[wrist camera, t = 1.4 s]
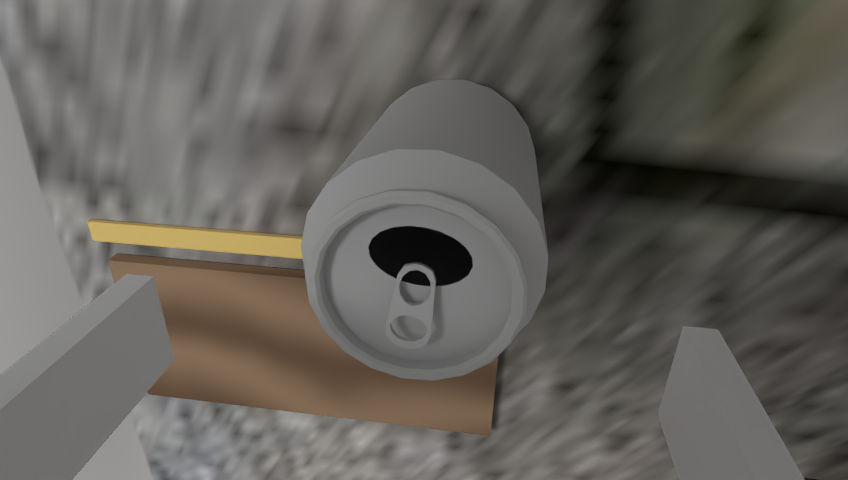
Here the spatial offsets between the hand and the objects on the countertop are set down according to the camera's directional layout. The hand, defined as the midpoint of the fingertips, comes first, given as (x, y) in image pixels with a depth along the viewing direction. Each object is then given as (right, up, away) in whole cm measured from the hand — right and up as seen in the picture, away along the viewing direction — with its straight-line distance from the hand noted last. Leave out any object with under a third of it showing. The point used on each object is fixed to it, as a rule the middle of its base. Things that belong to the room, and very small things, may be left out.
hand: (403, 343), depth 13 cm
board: (-6, -3, +18) cm, 19 cm away
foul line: (-6, +2, +15) cm, 16 cm away
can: (+2, +7, +12) cm, 14 cm away
